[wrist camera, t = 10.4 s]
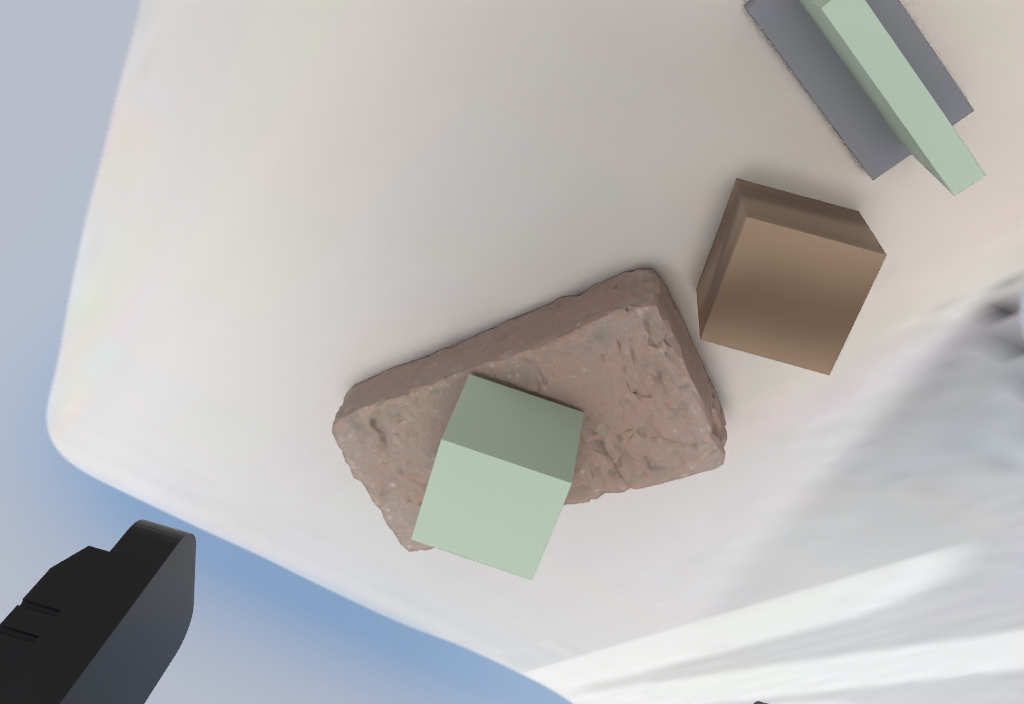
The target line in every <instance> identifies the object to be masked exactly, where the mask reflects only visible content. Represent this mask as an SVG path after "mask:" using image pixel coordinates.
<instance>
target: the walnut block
mask: <svg viewBox="0 0 1024 704" xmlns="http://www.w3.org/2000/svg"><path fill="white" fill-rule="evenodd" d="M885 257H886V253H885V252H884V250H883V248H882V247H881V245H880V244H879V242H878V241H877V239H876V238H875V236H874V235H873V233H872V231H871V230H870V228H869V227H868V225H867V224H866V222H865V221H864V219H863V217H862V216H861V214H860V213H859V212H858V211H855V210H851V209H847V208H844V207H840V206H836V205H833V204H829V203H825V202H822V201H818V200H814V199H810V198H807V197H803V196H799V195H796V194H792V193H788V192H785V191H781V190H777V189H774V188H770V187H766V186H762V185H759V184H755V183H751V182H748V181H744V180H740V179H736V182H735V185H734V188H733V190H732V193H731V196H730V198H729V201H728V204H727V207H726V209H725V212H724V215H723V218H722V220H721V223H720V226H719V229H718V231H717V234H716V237H715V239H714V242H713V245H712V248H711V250H710V253H709V256H708V259H707V261H706V264H705V267H704V270H703V272H702V275H701V278H700V280H699V283H698V286H697V289H696V291H697V304H698V317H699V329H700V339H701V340H704V341H708V342H711V343H715V344H719V345H722V346H726V347H729V348H733V349H737V350H740V351H744V352H747V353H751V354H755V355H758V356H762V357H765V358H769V359H773V360H776V361H780V362H783V363H787V364H791V365H794V366H798V367H801V368H805V369H809V370H812V371H816V372H819V373H823V374H827V375H830V373H831V371H832V369H833V367H834V364H835V362H836V360H837V358H838V356H839V354H840V352H841V350H842V348H843V346H844V343H845V341H846V339H847V337H848V335H849V333H850V331H851V329H852V327H853V325H854V322H855V320H856V318H857V316H858V314H859V312H860V310H861V308H862V306H863V303H864V301H865V299H866V297H867V295H868V293H869V291H870V289H871V287H872V285H873V282H874V280H875V278H876V276H877V274H878V272H879V270H880V268H881V266H882V264H883V261H884V259H885Z"/></svg>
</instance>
